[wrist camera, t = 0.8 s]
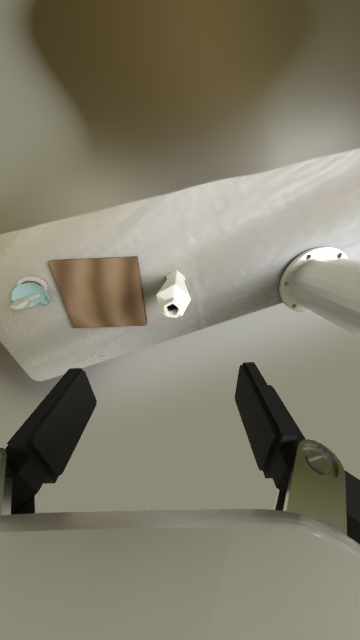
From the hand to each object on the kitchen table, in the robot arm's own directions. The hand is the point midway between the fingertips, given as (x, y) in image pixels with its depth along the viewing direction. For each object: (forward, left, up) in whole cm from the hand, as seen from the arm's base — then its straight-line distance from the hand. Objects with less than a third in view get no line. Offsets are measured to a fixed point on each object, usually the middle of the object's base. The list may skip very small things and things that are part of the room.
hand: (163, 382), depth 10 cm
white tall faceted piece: (0, 0, -26) cm, 26 cm away
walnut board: (+15, +2, -26) cm, 30 cm away
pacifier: (+29, +1, -26) cm, 39 cm away
